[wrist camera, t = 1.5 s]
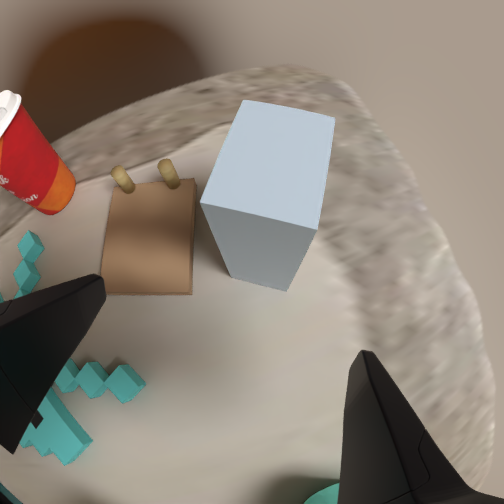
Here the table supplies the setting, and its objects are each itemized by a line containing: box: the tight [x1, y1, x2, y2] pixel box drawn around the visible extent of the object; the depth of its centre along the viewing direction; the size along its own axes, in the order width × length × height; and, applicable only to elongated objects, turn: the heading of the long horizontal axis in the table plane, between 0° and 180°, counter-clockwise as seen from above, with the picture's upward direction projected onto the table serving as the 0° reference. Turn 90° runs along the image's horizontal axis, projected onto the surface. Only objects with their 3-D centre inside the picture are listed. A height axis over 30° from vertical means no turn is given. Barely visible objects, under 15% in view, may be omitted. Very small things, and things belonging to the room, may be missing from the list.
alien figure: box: [0, 230, 146, 466], centre depth 19 cm, size 20×2×20 cm
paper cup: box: [0, 90, 76, 215], centre depth 19 cm, size 8×8×14 cm
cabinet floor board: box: [101, 159, 197, 295], centre depth 22 cm, size 10×8×4 cm
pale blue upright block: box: [200, 100, 335, 292], centre depth 17 cm, size 6×4×12 cm
